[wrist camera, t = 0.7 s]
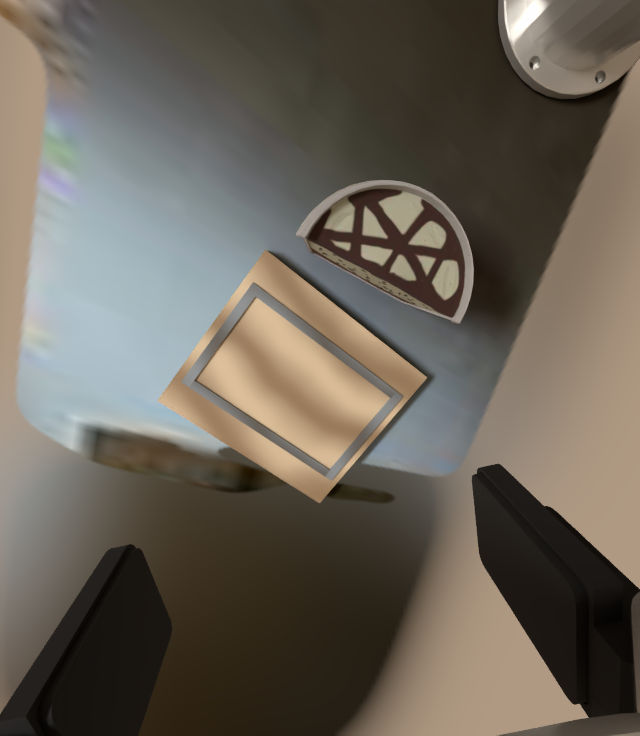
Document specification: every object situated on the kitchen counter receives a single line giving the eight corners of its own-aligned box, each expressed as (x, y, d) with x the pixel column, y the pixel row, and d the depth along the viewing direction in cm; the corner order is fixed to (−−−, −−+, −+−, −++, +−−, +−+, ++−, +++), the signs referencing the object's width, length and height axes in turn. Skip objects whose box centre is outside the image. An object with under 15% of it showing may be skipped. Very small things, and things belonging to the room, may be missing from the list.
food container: (452, 247, 32) (520, 238, 23) (416, 310, 33) (466, 327, 24) (328, 173, 30) (345, 127, 20) (294, 243, 31) (295, 232, 22)
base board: (266, 250, 31) (265, 249, 29) (421, 373, 35) (428, 378, 33) (163, 394, 34) (156, 401, 32) (318, 494, 38) (319, 504, 36)
